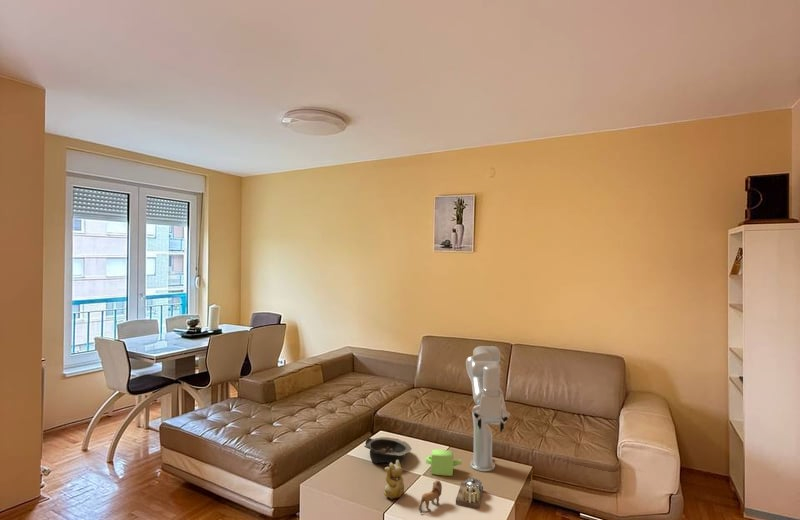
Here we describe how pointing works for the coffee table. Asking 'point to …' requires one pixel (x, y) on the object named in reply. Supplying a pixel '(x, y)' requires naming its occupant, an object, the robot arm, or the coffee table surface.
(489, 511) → the coffee table surface
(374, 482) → the coffee table surface
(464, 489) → the brass gear
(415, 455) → the coffee table surface
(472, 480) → the grey gear
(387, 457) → the stone bowl
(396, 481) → the decorative figurine
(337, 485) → the coffee table surface
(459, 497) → the gear board
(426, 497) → the lion figurine
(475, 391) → the robot arm
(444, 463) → the green square teapot
